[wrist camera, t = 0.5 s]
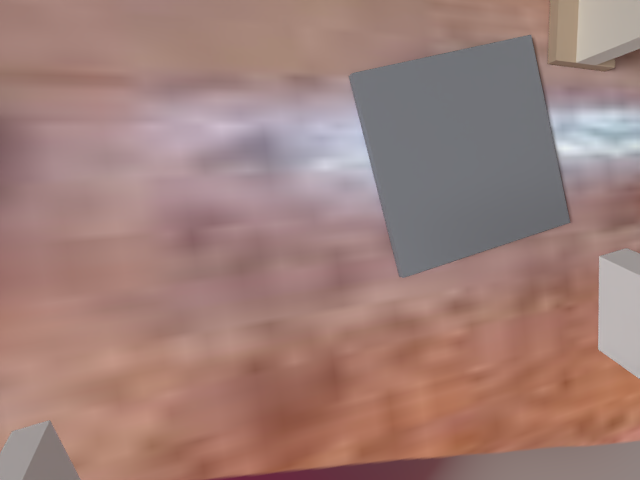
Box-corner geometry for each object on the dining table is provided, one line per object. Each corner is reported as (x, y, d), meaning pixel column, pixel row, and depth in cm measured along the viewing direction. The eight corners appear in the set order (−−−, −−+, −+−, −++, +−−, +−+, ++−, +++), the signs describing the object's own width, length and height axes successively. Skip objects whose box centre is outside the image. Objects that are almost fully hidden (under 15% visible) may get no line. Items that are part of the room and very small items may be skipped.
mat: (348, 76, 37) (352, 73, 36) (524, 38, 40) (530, 34, 40) (399, 276, 39) (403, 277, 38) (563, 222, 42) (570, 222, 41)
